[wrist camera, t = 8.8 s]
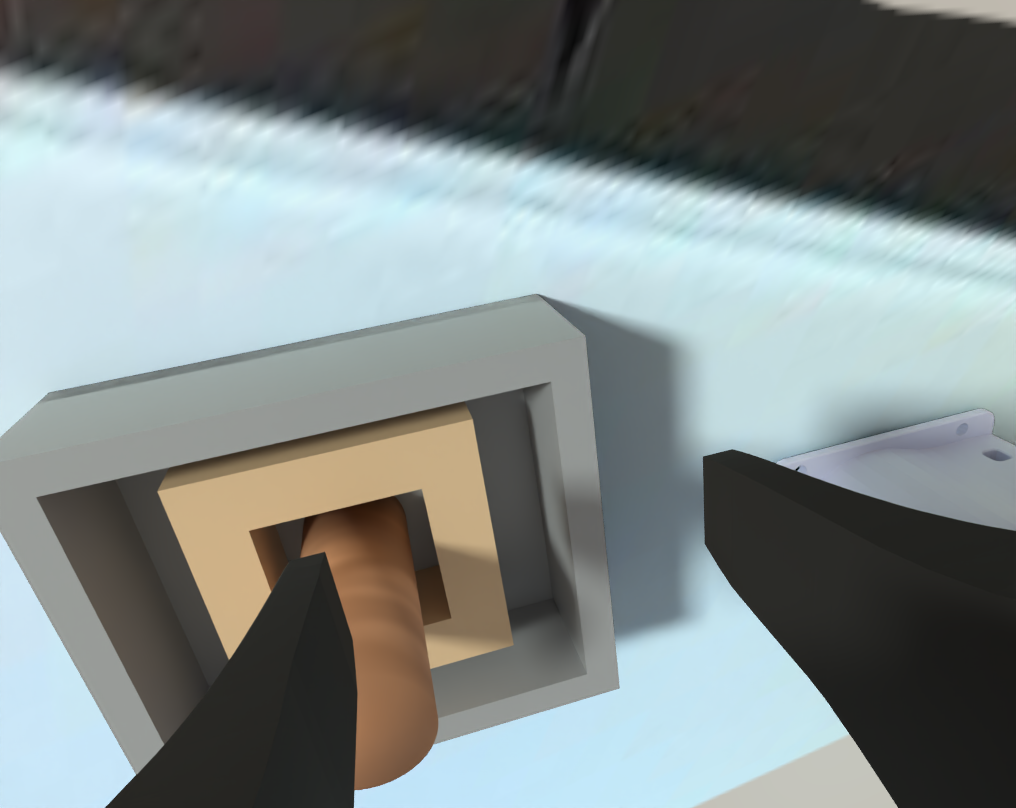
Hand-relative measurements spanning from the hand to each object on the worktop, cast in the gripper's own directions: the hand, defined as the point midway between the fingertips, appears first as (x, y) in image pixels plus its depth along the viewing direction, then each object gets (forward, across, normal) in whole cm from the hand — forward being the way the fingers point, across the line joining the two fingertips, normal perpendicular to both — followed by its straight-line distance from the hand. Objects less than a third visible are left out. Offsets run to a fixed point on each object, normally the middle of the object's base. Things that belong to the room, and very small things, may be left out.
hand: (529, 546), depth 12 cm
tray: (+9, +4, +4) cm, 11 cm away
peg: (+9, +4, +4) cm, 10 cm away
